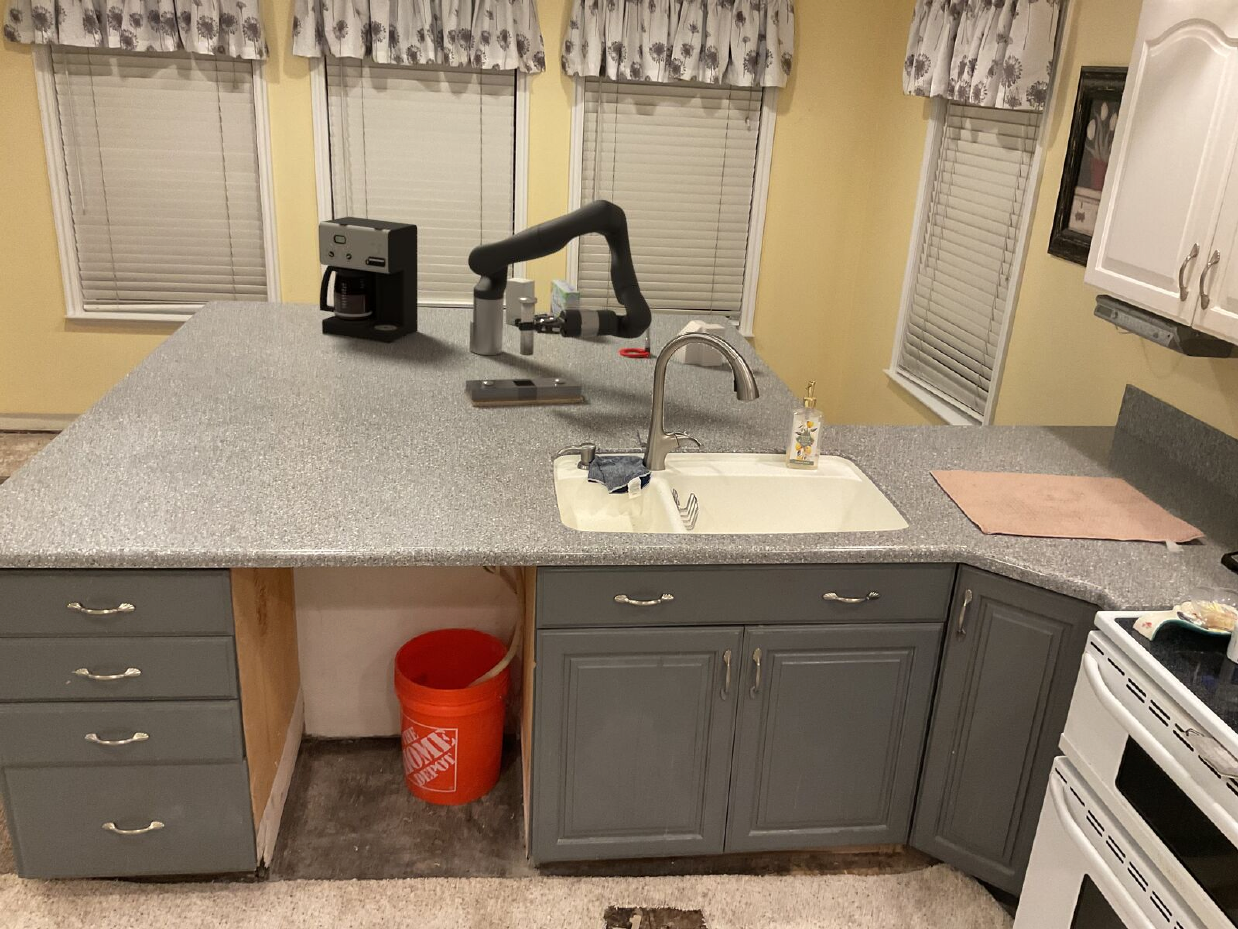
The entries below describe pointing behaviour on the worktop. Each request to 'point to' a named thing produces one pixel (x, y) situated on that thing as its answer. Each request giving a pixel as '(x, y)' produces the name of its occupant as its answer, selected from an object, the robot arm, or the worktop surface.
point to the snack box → (563, 297)
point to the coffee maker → (369, 278)
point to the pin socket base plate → (523, 391)
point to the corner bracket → (700, 346)
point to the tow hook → (643, 352)
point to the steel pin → (527, 316)
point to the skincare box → (517, 296)
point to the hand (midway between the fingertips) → (517, 324)
